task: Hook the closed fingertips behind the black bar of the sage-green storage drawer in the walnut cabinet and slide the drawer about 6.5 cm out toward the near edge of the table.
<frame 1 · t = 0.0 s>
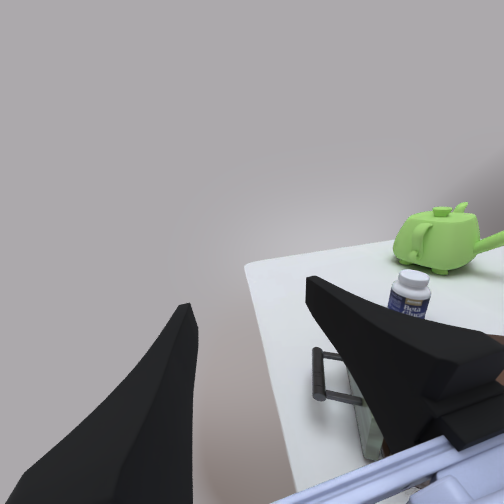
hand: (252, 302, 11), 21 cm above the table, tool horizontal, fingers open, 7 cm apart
drawer: (393, 390, 21), point 4 cm above the table, slide at 0.8 cm
pill bottle: (403, 319, 35), on the table
cabinet: (440, 425, 21), on the table
teapot: (443, 265, 51), on the table
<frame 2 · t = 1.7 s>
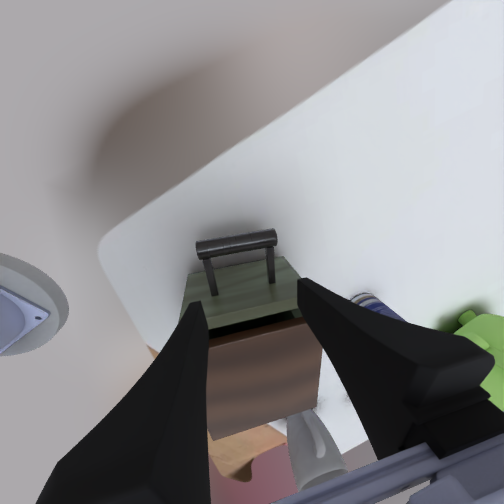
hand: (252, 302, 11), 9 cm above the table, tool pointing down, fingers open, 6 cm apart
drawer: (247, 313, 18), point 4 cm above the table, slide at 0.8 cm
mug: (298, 406, 38), on the table
pill bottle: (358, 305, 28), on the table
cabinet: (245, 318, 24), on the table
teapot: (444, 345, 40), on the table
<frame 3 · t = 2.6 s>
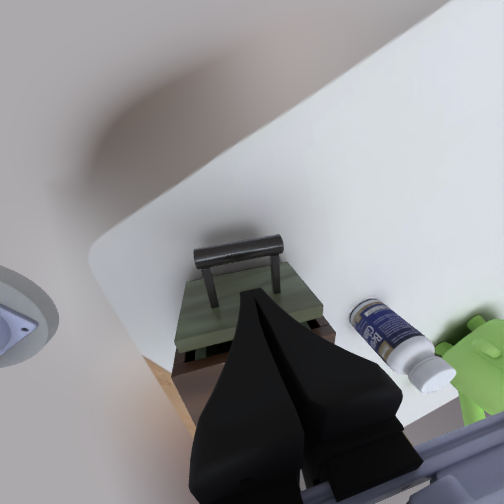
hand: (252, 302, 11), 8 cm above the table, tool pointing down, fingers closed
drawer: (249, 324, 17), point 4 cm above the table, slide at 0.8 cm
pill bottle: (364, 312, 27), on the table
cabinet: (247, 326, 23), on the table
teapot: (451, 350, 39), on the table
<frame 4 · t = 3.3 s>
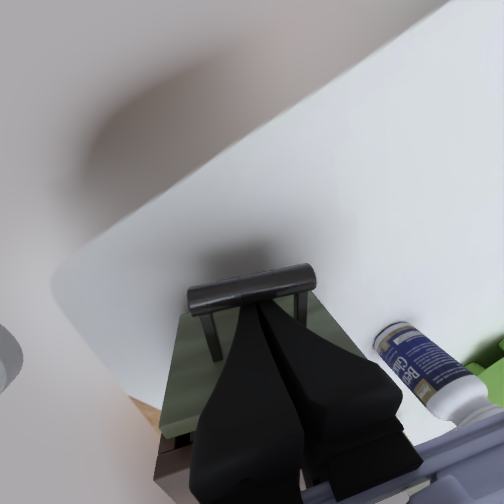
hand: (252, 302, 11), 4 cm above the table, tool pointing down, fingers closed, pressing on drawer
drawer: (261, 370, 13), point 4 cm above the table, slide at 0.7 cm, touching gripper
pill bottle: (390, 335, 23), on the table
cabinet: (254, 358, 19), on the table
teapot: (478, 371, 35), on the table
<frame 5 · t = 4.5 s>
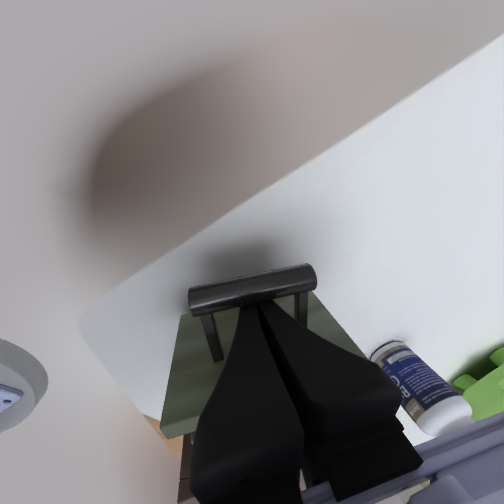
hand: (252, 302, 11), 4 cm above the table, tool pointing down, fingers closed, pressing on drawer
box: (377, 430, 37), on the table
drawer: (262, 370, 13), point 4 cm above the table, slide at 4.2 cm, touching gripper
pill bottle: (384, 353, 25), on the table
cabinet: (258, 377, 21), on the table
teapot: (471, 381, 36), on the table
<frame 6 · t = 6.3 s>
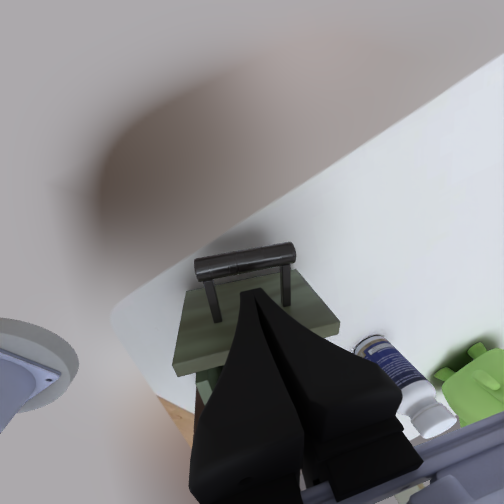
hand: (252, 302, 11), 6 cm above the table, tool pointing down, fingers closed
box: (365, 419, 40), on the table
drawer: (255, 338, 16), point 4 cm above the table, slide at 6.3 cm
pill bottle: (367, 346, 28), on the table
teapot: (452, 374, 40), on the table
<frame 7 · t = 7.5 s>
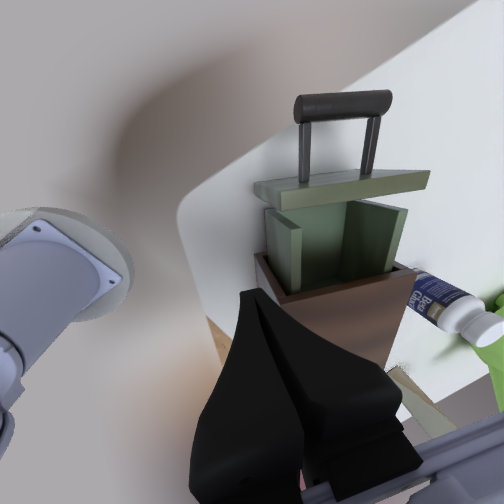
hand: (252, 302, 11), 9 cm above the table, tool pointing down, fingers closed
box: (392, 373, 40), on the table
drawer: (325, 224, 16), point 4 cm above the table, slide at 6.3 cm
pill bottle: (405, 282, 28), on the table
cabinet: (300, 291, 24), on the table
teapot: (478, 328, 40), on the table
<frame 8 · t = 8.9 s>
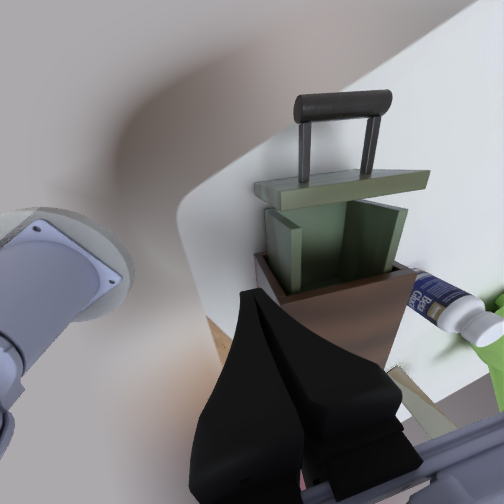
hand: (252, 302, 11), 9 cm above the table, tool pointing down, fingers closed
box: (392, 373, 40), on the table
drawer: (325, 224, 16), point 4 cm above the table, slide at 6.3 cm
pill bottle: (405, 282, 28), on the table
cabinet: (300, 291, 24), on the table
teapot: (478, 328, 40), on the table
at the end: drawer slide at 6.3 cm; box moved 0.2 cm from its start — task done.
